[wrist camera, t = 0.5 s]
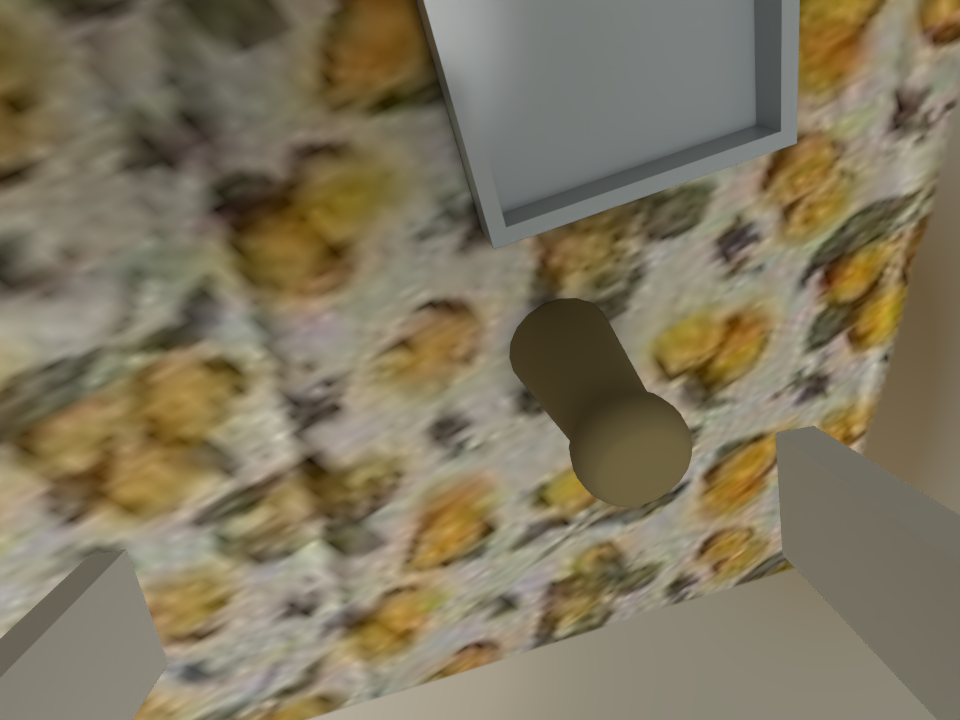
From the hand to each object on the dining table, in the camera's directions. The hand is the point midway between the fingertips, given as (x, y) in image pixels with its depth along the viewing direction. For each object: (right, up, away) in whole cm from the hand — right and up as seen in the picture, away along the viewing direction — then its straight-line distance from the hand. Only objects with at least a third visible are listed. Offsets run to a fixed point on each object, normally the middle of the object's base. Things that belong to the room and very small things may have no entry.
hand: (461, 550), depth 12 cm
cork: (+5, +5, +22) cm, 23 cm away
